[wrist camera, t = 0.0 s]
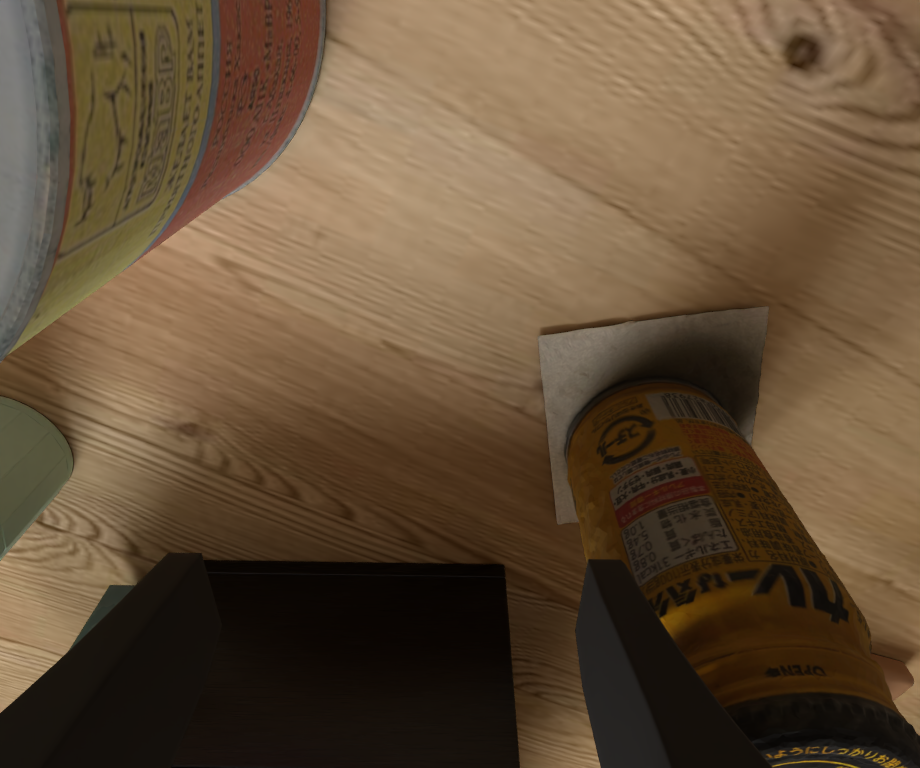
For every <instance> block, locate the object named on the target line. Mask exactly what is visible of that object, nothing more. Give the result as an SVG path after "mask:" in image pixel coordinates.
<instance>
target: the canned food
mask: <svg viewBox="0 0 920 768" xmlns="http://www.w3.org/2000/svg"><path fill="white" fill-rule="evenodd" d="M325 24H326V0H0V363H1V362H2V361H3V359H4V358H5V357H6V356H7V355H9V354H10V353H11V352H13V351H14V350H16V349H17V348H18V347H20V346H21V345H22V344H24V343H25V342H27V341H28V340H29V339H31V338H32V337H33V336H35V335H36V334H37V333H39V332H40V331H42V330H43V329H44V328H46V327H47V326H48V325H50V324H51V323H53V322H54V321H55V320H57V319H58V318H59V317H61V316H62V315H63V314H65V313H66V312H68V311H69V310H70V309H72V308H73V307H74V306H76V305H77V304H79V303H80V302H81V301H83V300H84V299H85V298H87V297H88V296H89V295H91V294H92V293H94V292H95V291H96V290H98V289H99V288H100V287H102V286H103V285H105V284H106V283H107V282H109V281H110V280H111V279H113V278H114V277H115V276H117V275H118V274H120V273H121V272H122V271H124V270H125V269H126V268H128V267H129V266H131V265H132V264H133V263H135V262H136V261H137V260H139V259H140V258H141V257H143V256H144V255H146V254H147V253H148V252H150V251H151V250H152V249H154V248H155V247H157V246H158V245H159V244H161V243H162V242H163V241H165V240H166V239H167V238H169V237H170V236H172V235H173V234H174V233H176V232H177V231H178V230H180V229H181V228H183V227H184V226H185V225H187V224H188V223H189V222H191V221H192V220H193V219H195V218H196V217H198V216H199V215H200V214H202V213H203V212H204V211H206V210H207V209H209V208H210V207H211V206H213V205H214V204H215V203H217V202H218V201H219V200H221V199H223V198H225V197H227V196H229V195H231V194H233V193H235V192H237V191H239V190H240V189H242V188H243V187H245V186H246V185H247V184H249V183H250V182H252V181H253V180H255V179H256V178H257V177H258V176H259V175H260V174H262V173H263V172H264V171H265V170H266V169H267V168H268V167H270V165H271V164H272V163H273V162H274V161H275V160H276V159H277V158H278V157H279V156H280V154H281V153H282V152H283V151H284V149H285V148H286V146H287V145H288V144H289V142H290V141H291V139H292V138H293V137H294V135H295V133H296V131H297V129H298V128H299V126H300V124H301V122H302V121H303V118H304V116H305V114H306V111H307V109H308V107H309V104H310V102H311V100H312V96H313V93H314V90H315V87H316V84H317V80H318V76H319V71H320V67H321V62H322V57H323V48H324V40H325Z"/></svg>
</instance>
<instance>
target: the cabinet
mask: <svg viewBox="0 0 920 768" xmlns="http://www.w3.org/2000/svg"><path fill="white" fill-rule="evenodd" d="M204 564H205V567H206V571H207V574H208V578H209V581H210V585H211V588H212V592H213V595H214V598H215V602H216V605H217V609H218V612H219V616H220V619H221V623H222V628H221V631H220V635H219V639H218V642H217V646H216V650H215V653H214V657H213V660H212V664H211V667H210V670H209V674H208V677H207V681H206V683H205V686H204V688H203V691H202V693H201V696H200V698H199V701H198V703H197V706H196V708H195V710H194V713H193V715H192V718H191V720H190V723H189V725H188V728H187V730H186V732H185V735H184V737H183V740H182V742H181V744H180V747H179V749H178V752H177V754H176V756H175V759H174V761H173V764H172V766H171V768H520V761H519V748H518V735H517V722H516V709H515V696H514V683H513V670H512V657H511V644H510V631H509V618H508V605H507V591H506V579H505V566H504V565H483V564H416V563H350V562H283V561H217V560H204Z"/></svg>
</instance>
